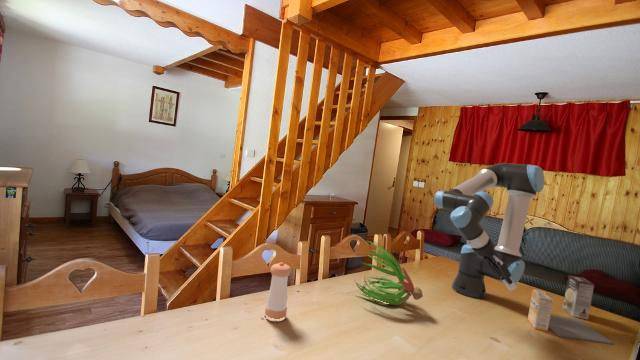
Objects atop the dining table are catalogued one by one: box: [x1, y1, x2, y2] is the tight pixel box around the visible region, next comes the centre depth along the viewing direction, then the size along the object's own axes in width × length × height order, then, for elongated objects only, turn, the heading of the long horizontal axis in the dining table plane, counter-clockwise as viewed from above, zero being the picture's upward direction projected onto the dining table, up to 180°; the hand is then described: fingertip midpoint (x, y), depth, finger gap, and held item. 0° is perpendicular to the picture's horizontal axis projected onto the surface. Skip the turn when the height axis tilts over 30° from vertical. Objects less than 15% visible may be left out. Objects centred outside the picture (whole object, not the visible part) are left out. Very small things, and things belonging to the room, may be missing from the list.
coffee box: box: [562, 275, 595, 320], centre depth 147 cm, size 9×6×16 cm
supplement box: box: [527, 289, 554, 332], centre depth 129 cm, size 8×5×13 cm, turn 164°
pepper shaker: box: [264, 261, 292, 319], centre depth 111 cm, size 7×7×19 cm
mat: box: [548, 314, 614, 345], centre depth 131 cm, size 20×18×1 cm
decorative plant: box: [354, 240, 424, 305], centre depth 133 cm, size 26×25×30 cm
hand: (513, 288), depth 127 cm, fingers closed
